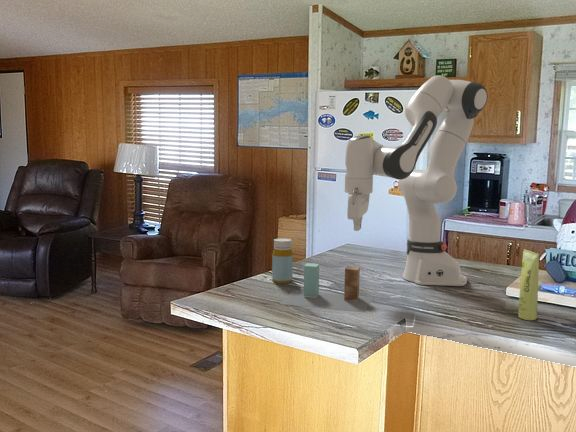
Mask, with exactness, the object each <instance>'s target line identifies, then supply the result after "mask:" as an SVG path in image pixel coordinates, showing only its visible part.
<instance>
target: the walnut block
mask: <svg viewBox="0 0 576 432" xmlns="http://www.w3.org/2000/svg"><path fill="white" fill-rule="evenodd" d="M360 268H361V267H360V266H353V265H352V266H351V265H350V266H349V265H346V267H345V268H344V287H343V288H344V290H343V295H344V300H347V301H357V300H358V299H359V296H360V279H361V278H360V273H361V269H360Z"/></svg>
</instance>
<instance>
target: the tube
mask: <svg viewBox="0 0 576 432" xmlns="http://www.w3.org/2000/svg"><path fill="white" fill-rule="evenodd" d="M539 257H540V253H536V252H533V251H531V250H527V249H525V248H523V252H522V263H521V273H520V283H519V284H520V286H519V295H518V296H519V299H518V313H517V315H518V318H519V319H521V320H525V321H534V320H536V319H538V318H537V317H538V297H539V271H540V270H539V266H540V260H539Z"/></svg>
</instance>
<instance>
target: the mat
mask: <svg viewBox="0 0 576 432" xmlns="http://www.w3.org/2000/svg"><path fill="white" fill-rule="evenodd" d="M372 300H373V297H372V296H363V295H362V296H360V295H359V299H358V300H357V301H347V300H344V294H339V293H327V292H319V295H318V296H317V297H316V298H313V297H304V290H292V291H291V292H290V293H289V294H288V295H287V296H286V297H284V299H283V300H282V301H281V302H280V303H279V305H285V306H292V307H293V306H296V307H305V308H316V309H324V310H325V309H328V310H337V311H347V312H348V311H349V312H360V313H366V312H367V310H368V307H369V305H370V303H371V302H372Z"/></svg>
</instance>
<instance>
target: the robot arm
mask: <svg viewBox="0 0 576 432" xmlns="http://www.w3.org/2000/svg"><path fill="white" fill-rule="evenodd" d="M487 101H488V91H487V88H486V86H485V85H483V84H481V83H479V82H477V81H469V80H464V79H449V78H447V77H446V76H444V75H441V74H439V75H438V74H437V75H433V76H432V77H430V78H429V79H428V80H426V81H425V82H424V83H423V84H422V85H421V86H420V87H419V88H418V89H417V90H416V91H415V92H414V94H413V95H412V96H411V97H410V99H409V100H408V102H407V103H406V105H405V108H404V114H405V118H406V120H407V122H409V124H410V125H411V126H412V130H411V131H410V133H409V134H408V135H407V137H406V139H405V141H404V142H402V143H401V144H399V145H396V146H388V145H387V146H385V145H383V144H381V143H379V142H378V141H376V140H374V139H373V137H372V136H371V135H369V134H368V135H366V134H363V135H356V136H352V137H350V138H349V139H348V141H347V144H346V149H345V167H346V172H345V175H344V192H345V193H347V194H348V197H347V199H348V200H347V210H346V212H347V220H351V221H352V223H353V231H355V232H359V231H360V230H361V229H362V223H363V216H364V215H366V213H367V212H368V211H369V206H370V205H369V204H370V195H371V194H372V193H373V189H374V188H373V187H374V186H373V185H374V176H379V177H384V178H385V177H386V178H392V179H395V180H399V181H398V189H399V192H400V193H401V194H402V196H403V198H404V200H405V205H406V207H407V214H408V238H407V240H406V262H405V267H404V270H403V273H402V278H403V279H404V280H405V281H408V282H412V283H414V284H415V283H416V284H418V285H424V286H426V285H427V286H449V287H450V286H455V287H462V286H465V285H467V283H468V278H467V277H466V276H465V275H464V274H462V269H461V266H460V263H459V262H458V261H457V260H456V259H455V258H453V257H452V256H451V255H450V254H449V253H447V252H446V251H447V248H448V246H447V243H445V242H444V241H442V240H441V230H442V229H441V228H442V220H441V219H442V218H441V217H440V215H439V213H438V212H437V210H436V207H435V204H436V205H437V204H446V203H449V202H451V201H452V200H453V199H454V198H455V197H456V195H457V190H458V185H457V182H456V179H455V173H456V172H455V170H456V168H457V167H456V166H457V164H458V161H459V159H460V157H461V155H462V153H463V151H464V149H465V146H467V145H466V144H468V143H467V142H468V141H469V138H470V136H471V134H472V130H473V126H474V121H475V120H474V119H475V118H476V117H477V116H478V115H479V114H480V113H481V112H482V110H483V109H484V108H485V107H486V105H487ZM443 111H445V112H446V114H445V118H444V119H443V120H442V122H441V124H440V126H439V127H438V129H437V131H436V133H435V134H434V132H435V130H436V127H437V124H438V118H439V117H440V116H441V114H442V113H443ZM433 134H434V136H433V138H432V141H431V143H430V145H429V147H428V148H427V157H428V158H429V160H428V164H427V165H428V166H427V168H426V169H425V170H423V169H415V168H416V165H417V162H418V160H419V157H420V155H421V153H422V151H423V150H424V148H425V147H426V145H427V143H428V142H429V140H430V138H431V137H432V135H433Z"/></svg>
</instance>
